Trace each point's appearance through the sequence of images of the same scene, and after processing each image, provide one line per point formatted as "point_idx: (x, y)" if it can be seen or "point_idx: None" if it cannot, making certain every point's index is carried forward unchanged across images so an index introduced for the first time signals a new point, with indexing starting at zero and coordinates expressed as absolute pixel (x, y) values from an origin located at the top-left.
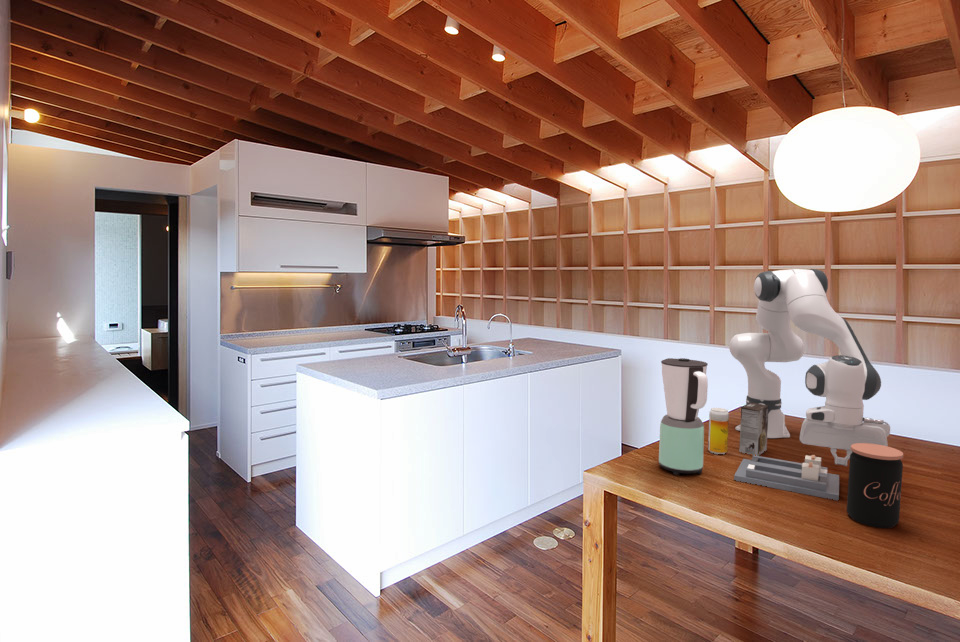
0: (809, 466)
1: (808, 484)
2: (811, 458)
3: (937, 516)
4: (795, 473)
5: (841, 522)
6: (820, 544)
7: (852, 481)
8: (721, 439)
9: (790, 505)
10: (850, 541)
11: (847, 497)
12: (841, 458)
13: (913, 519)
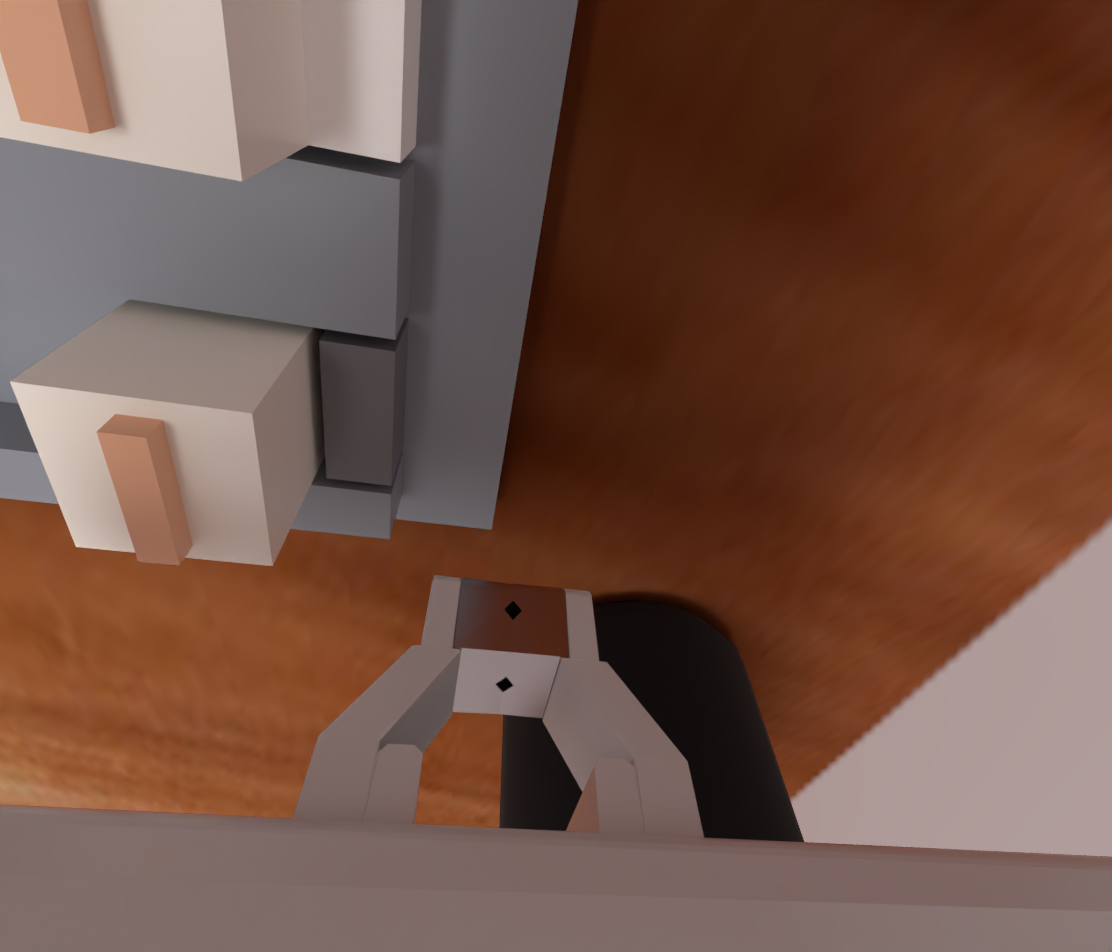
0: (156, 549)
1: None
2: (39, 120)
3: (1052, 512)
4: (35, 274)
5: (470, 730)
6: None
7: None
8: None
9: (221, 660)
10: (481, 823)
11: (504, 755)
12: (506, 692)
13: (855, 598)
